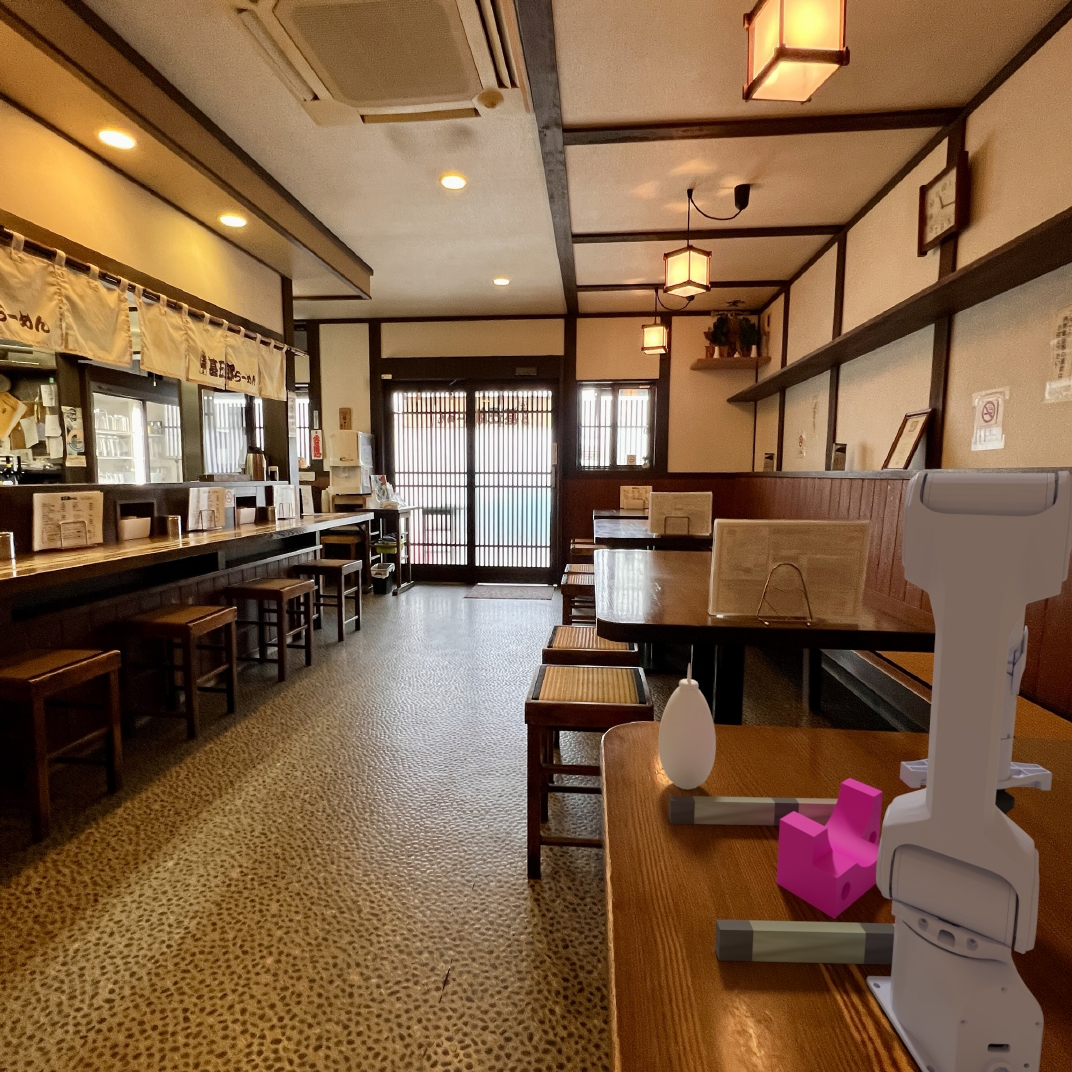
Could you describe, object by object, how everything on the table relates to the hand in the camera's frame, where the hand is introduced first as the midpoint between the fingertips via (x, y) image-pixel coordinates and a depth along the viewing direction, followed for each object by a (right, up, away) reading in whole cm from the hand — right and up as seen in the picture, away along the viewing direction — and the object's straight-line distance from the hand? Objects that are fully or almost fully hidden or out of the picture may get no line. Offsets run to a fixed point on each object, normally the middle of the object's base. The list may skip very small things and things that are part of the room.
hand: (968, 848), depth 63 cm
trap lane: (-18, -4, +1) cm, 18 cm away
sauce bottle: (-25, -2, +20) cm, 32 cm away
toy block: (-13, -4, +2) cm, 13 cm away
